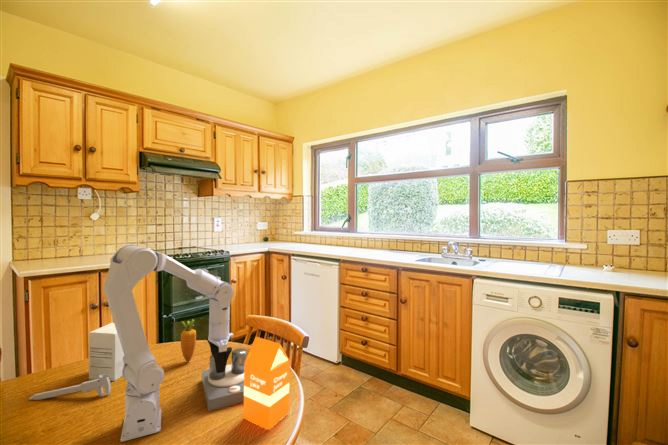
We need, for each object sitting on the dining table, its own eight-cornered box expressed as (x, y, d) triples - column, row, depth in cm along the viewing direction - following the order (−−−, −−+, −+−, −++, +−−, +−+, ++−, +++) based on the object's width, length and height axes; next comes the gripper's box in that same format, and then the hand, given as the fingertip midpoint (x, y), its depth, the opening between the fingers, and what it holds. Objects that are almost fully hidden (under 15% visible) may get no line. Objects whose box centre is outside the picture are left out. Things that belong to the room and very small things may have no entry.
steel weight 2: (248, 371, 95) (249, 352, 95) (234, 375, 93) (234, 356, 93) (243, 365, 99) (243, 347, 99) (229, 369, 96) (229, 350, 96)
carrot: (177, 364, 107) (177, 321, 106) (187, 358, 112) (187, 316, 111) (189, 366, 106) (190, 322, 105) (198, 359, 110) (199, 318, 110)
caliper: (110, 395, 89) (111, 373, 89) (108, 397, 88) (108, 375, 87) (30, 399, 86) (31, 376, 86) (27, 401, 85) (27, 378, 85)
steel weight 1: (225, 378, 91) (226, 358, 91) (209, 381, 89) (209, 360, 89) (225, 371, 95) (225, 352, 95) (209, 373, 94) (209, 354, 93)
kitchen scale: (260, 397, 89) (261, 384, 88) (208, 411, 82) (208, 397, 82) (247, 370, 103) (247, 359, 103) (201, 380, 97) (202, 368, 97)
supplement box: (111, 365, 105) (111, 321, 104) (135, 367, 104) (136, 323, 104) (87, 379, 96) (87, 331, 95) (114, 382, 95) (114, 333, 95)
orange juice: (264, 403, 86) (265, 332, 86) (289, 414, 81) (290, 339, 81) (242, 418, 79) (244, 341, 79) (268, 431, 75) (270, 349, 74)
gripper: (238, 327, 88) (237, 374, 88) (229, 312, 100) (228, 354, 101) (211, 330, 84) (210, 380, 85) (205, 315, 97) (204, 358, 97)
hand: (218, 366), depth 92 cm, fingers open, 7 cm apart
